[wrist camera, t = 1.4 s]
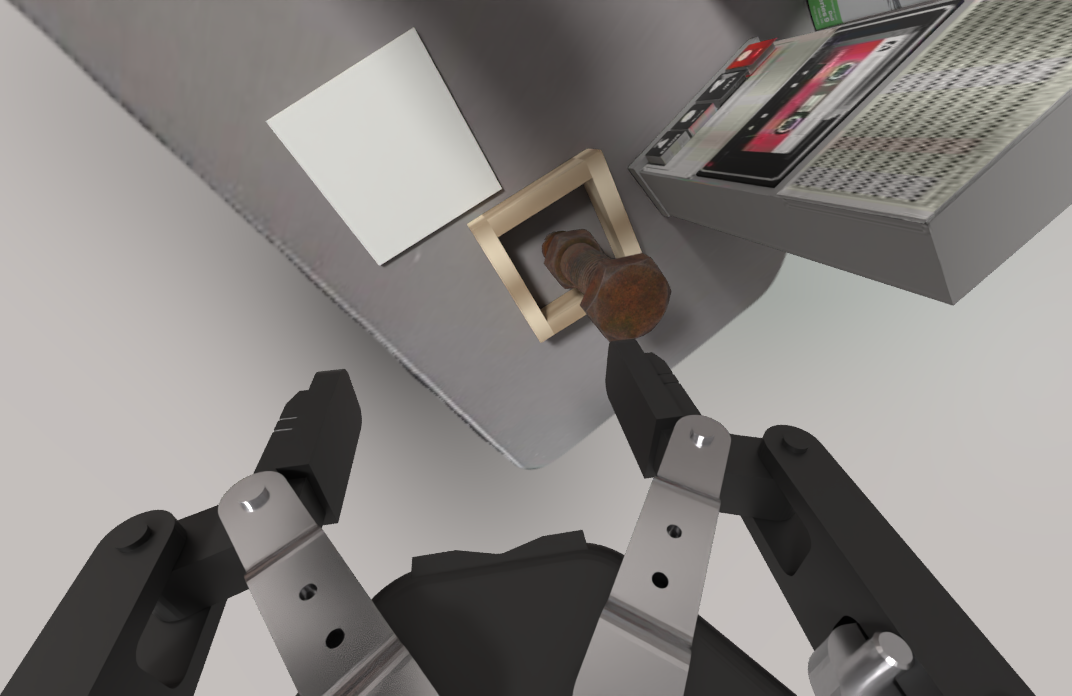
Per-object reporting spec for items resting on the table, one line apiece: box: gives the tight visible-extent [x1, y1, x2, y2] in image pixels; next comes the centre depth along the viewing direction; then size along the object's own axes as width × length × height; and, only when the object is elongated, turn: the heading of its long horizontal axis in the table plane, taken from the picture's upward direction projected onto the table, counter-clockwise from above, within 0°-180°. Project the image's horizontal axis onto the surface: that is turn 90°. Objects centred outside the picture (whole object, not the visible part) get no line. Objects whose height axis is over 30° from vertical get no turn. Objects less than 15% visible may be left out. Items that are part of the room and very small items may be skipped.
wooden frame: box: [467, 148, 642, 343], centre depth 38 cm, size 12×12×3 cm
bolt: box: [542, 229, 671, 342], centre depth 33 cm, size 6×5×15 cm
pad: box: [266, 27, 502, 266], centre depth 32 cm, size 12×12×1 cm
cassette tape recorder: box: [628, 0, 1072, 305], centre depth 27 cm, size 14×6×25 cm, turn 134°
